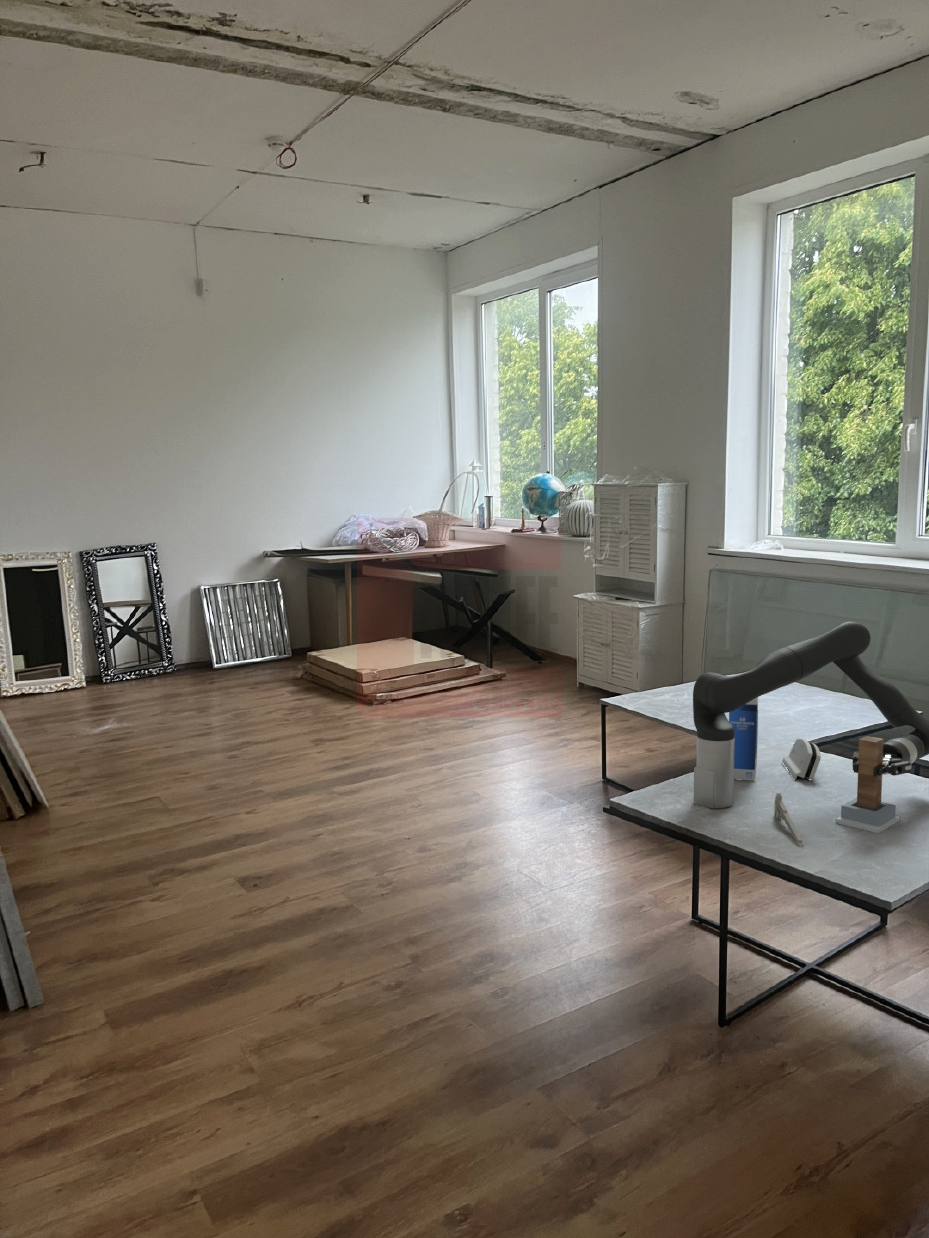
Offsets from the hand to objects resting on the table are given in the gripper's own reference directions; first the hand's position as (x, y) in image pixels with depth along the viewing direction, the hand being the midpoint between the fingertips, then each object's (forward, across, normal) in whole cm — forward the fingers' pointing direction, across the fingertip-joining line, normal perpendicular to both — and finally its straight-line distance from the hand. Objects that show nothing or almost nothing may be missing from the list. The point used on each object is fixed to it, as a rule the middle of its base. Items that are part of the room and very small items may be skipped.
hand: (865, 770), depth 212 cm
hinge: (-29, -30, +14) cm, 44 cm away
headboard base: (-2, 0, +13) cm, 13 cm away
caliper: (+16, -11, +13) cm, 23 cm away
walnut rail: (-3, 0, +9) cm, 9 cm away
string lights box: (-16, -41, +13) cm, 46 cm away
